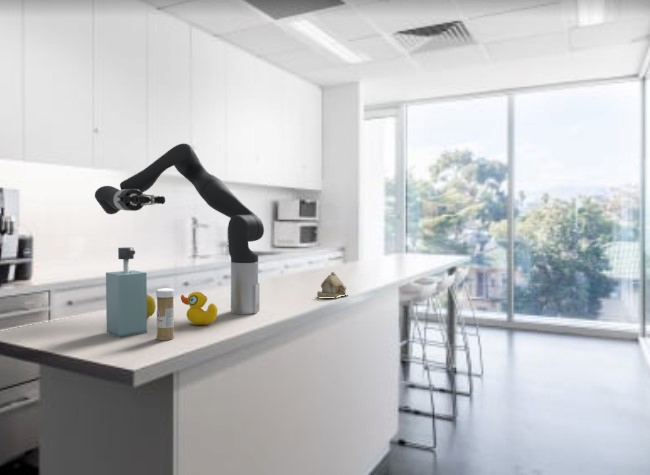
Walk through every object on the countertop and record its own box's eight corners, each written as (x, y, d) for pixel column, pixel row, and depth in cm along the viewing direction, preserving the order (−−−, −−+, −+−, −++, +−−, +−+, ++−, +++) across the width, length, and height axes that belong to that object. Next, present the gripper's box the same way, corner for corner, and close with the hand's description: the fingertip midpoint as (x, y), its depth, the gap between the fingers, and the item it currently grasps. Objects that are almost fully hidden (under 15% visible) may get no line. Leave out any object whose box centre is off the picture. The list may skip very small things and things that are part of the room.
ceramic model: (326, 293, 212) (327, 269, 211) (351, 295, 207) (351, 271, 206) (312, 298, 199) (312, 273, 198) (338, 300, 194) (338, 275, 194)
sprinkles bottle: (153, 338, 134) (152, 289, 133) (168, 335, 137) (167, 287, 137) (162, 341, 131) (162, 291, 130) (177, 338, 134) (177, 289, 134)
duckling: (177, 325, 149) (177, 292, 148) (184, 321, 154) (184, 289, 154) (213, 327, 147) (213, 294, 147) (219, 323, 153) (219, 291, 152)
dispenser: (106, 332, 140) (105, 272, 139) (134, 327, 146) (133, 270, 145) (119, 337, 135) (118, 275, 134) (146, 332, 140) (146, 272, 139)
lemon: (159, 318, 159) (159, 293, 159) (147, 321, 154) (147, 296, 153) (145, 316, 161) (144, 292, 160) (133, 320, 156) (132, 294, 155)
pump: (116, 299, 140) (115, 247, 139) (130, 297, 143) (129, 247, 142) (126, 302, 135) (126, 249, 134) (140, 300, 138) (140, 248, 137)
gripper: (108, 188, 167) (130, 187, 156) (148, 189, 177) (171, 188, 166) (108, 210, 167) (130, 210, 156) (148, 210, 177) (171, 211, 166)
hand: (151, 199), depth 161 cm, fingers open, 8 cm apart
